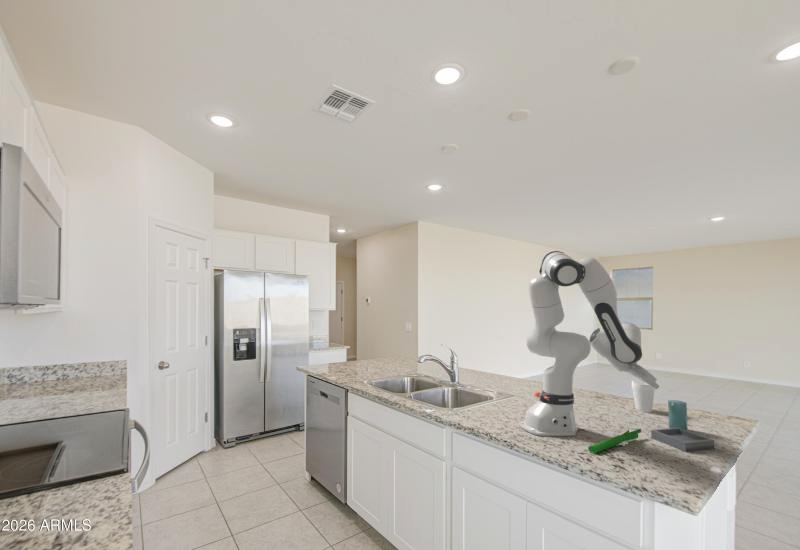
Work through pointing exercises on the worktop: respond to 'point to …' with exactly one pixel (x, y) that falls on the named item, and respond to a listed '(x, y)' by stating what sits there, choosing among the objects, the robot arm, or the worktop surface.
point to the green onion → (614, 441)
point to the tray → (682, 439)
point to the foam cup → (643, 396)
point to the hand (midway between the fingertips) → (650, 383)
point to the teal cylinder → (677, 414)
